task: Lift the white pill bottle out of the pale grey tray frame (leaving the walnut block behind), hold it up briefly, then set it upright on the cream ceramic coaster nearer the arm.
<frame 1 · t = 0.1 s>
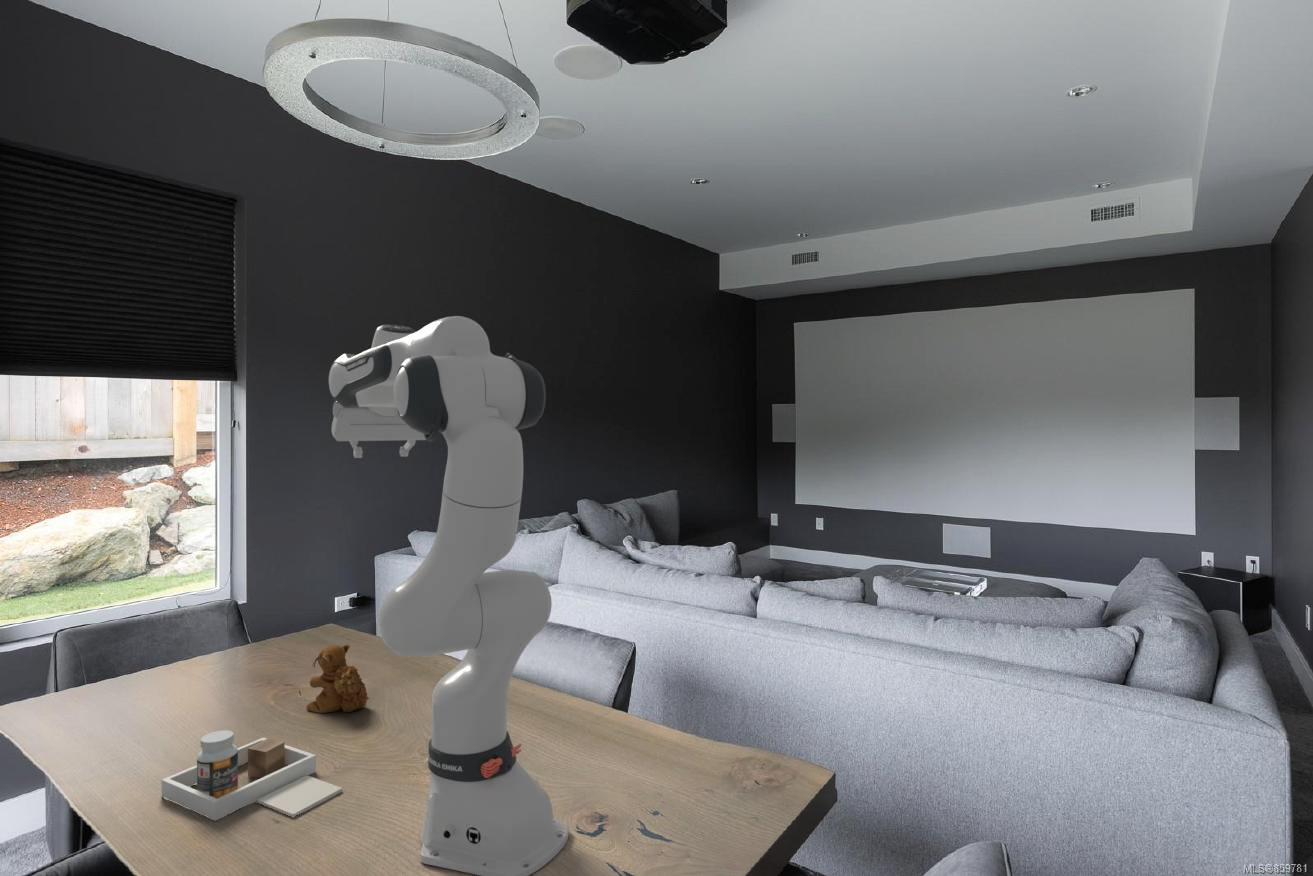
hand: (380, 455, 154), 54 cm above the table, tool tilted 30°, fingers open, 8 cm apart
walnut block: (266, 773, 126), resting in tray frame
stuffed squirrel: (341, 708, 154), on the table
pill bottle: (218, 796, 118), resting in tray frame
tray frame: (241, 784, 122), on the table
coaster: (300, 797, 118), on the table
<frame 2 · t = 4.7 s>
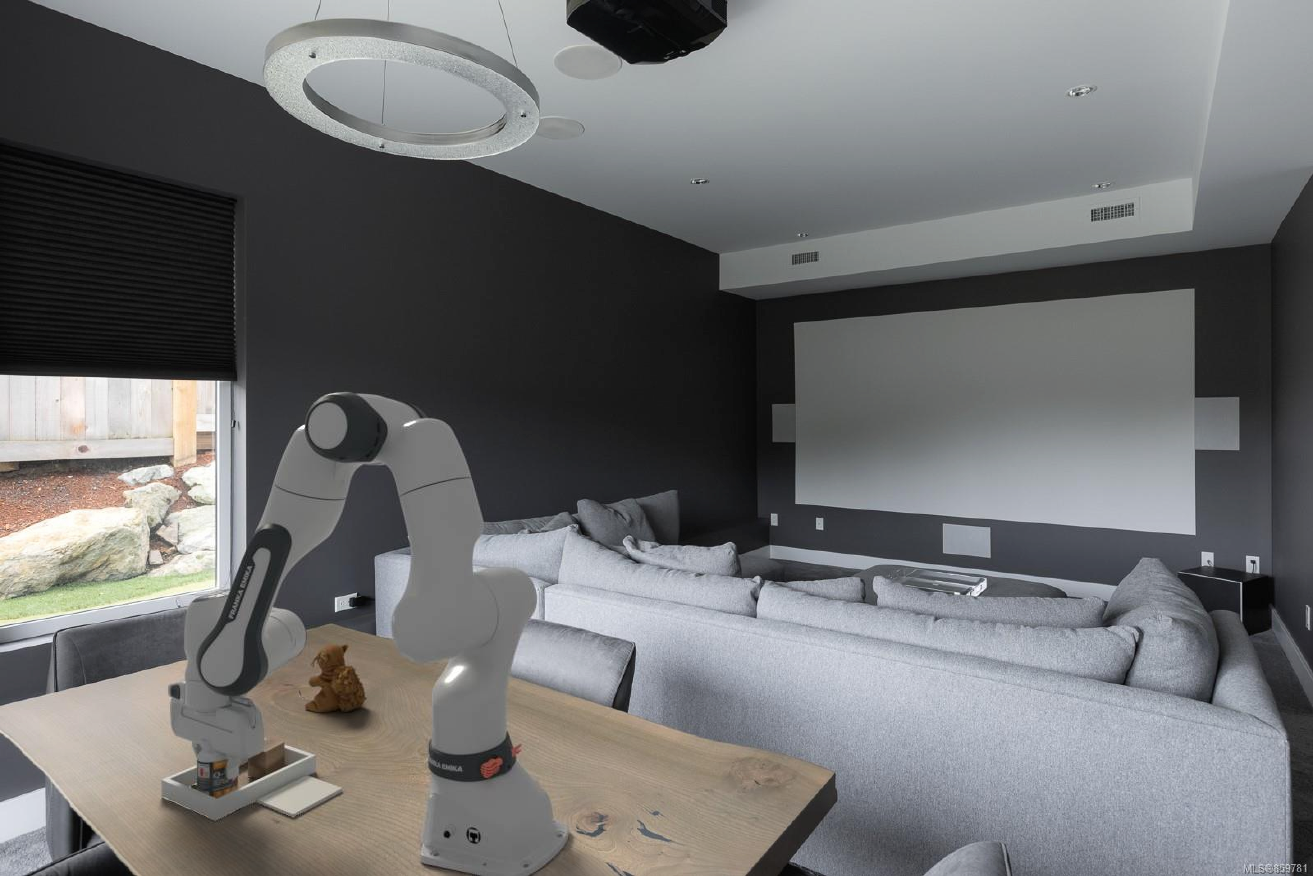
hand: (217, 771, 118), 4 cm above the table, tool pointing down, fingers closed on pill bottle, 6 cm apart
pill bottle: (218, 796, 118), resting in tray frame, touching gripper
everything else where it was.
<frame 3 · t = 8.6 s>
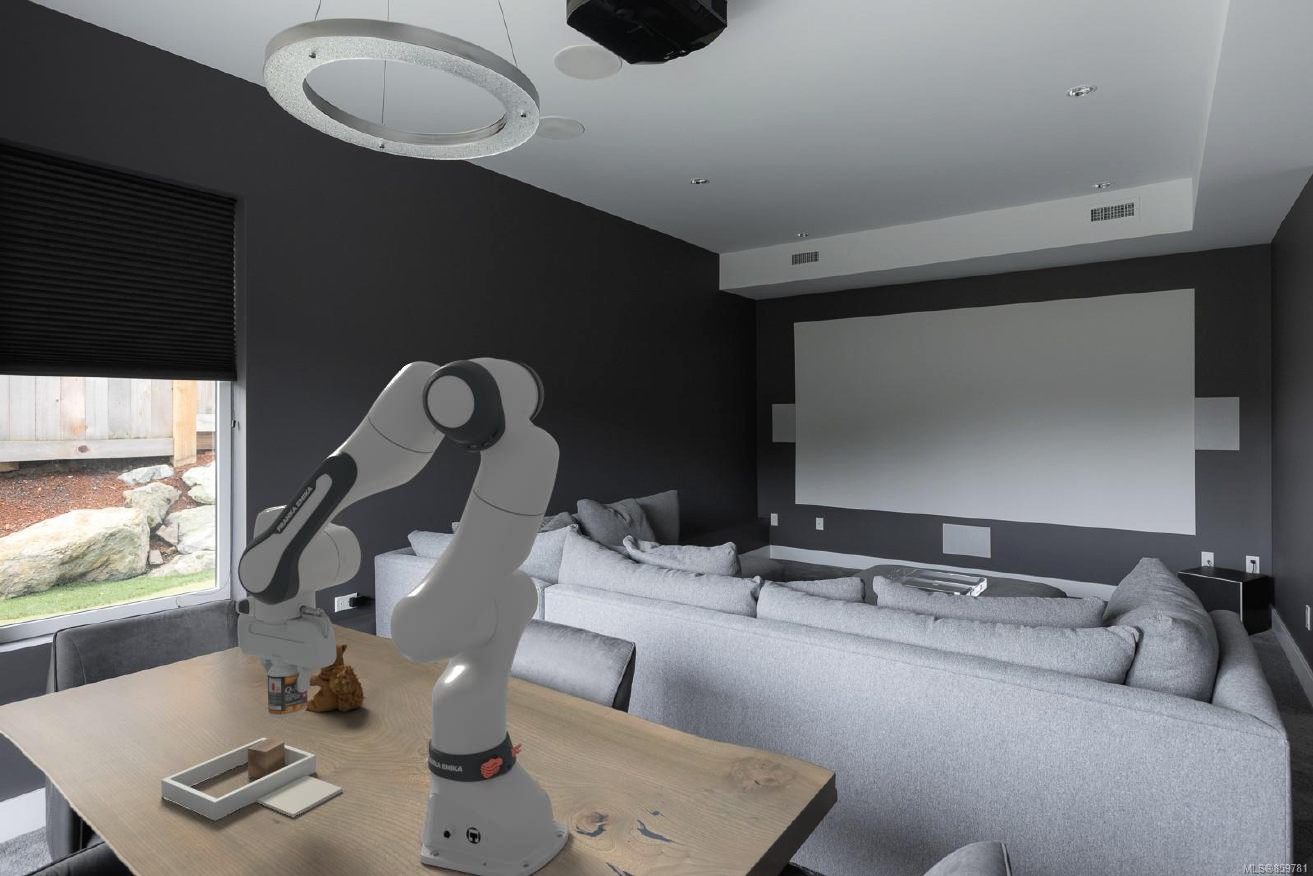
hand: (287, 687, 117), 18 cm above the table, tool pointing down, fingers closed on pill bottle, 6 cm apart
pill bottle: (288, 713, 117), point 14 cm above the table, touching gripper
everything else where it was.
when the fingers open (6 cm above the table, at t = 12.3 s): pill bottle stays where it is, resting on coaster.
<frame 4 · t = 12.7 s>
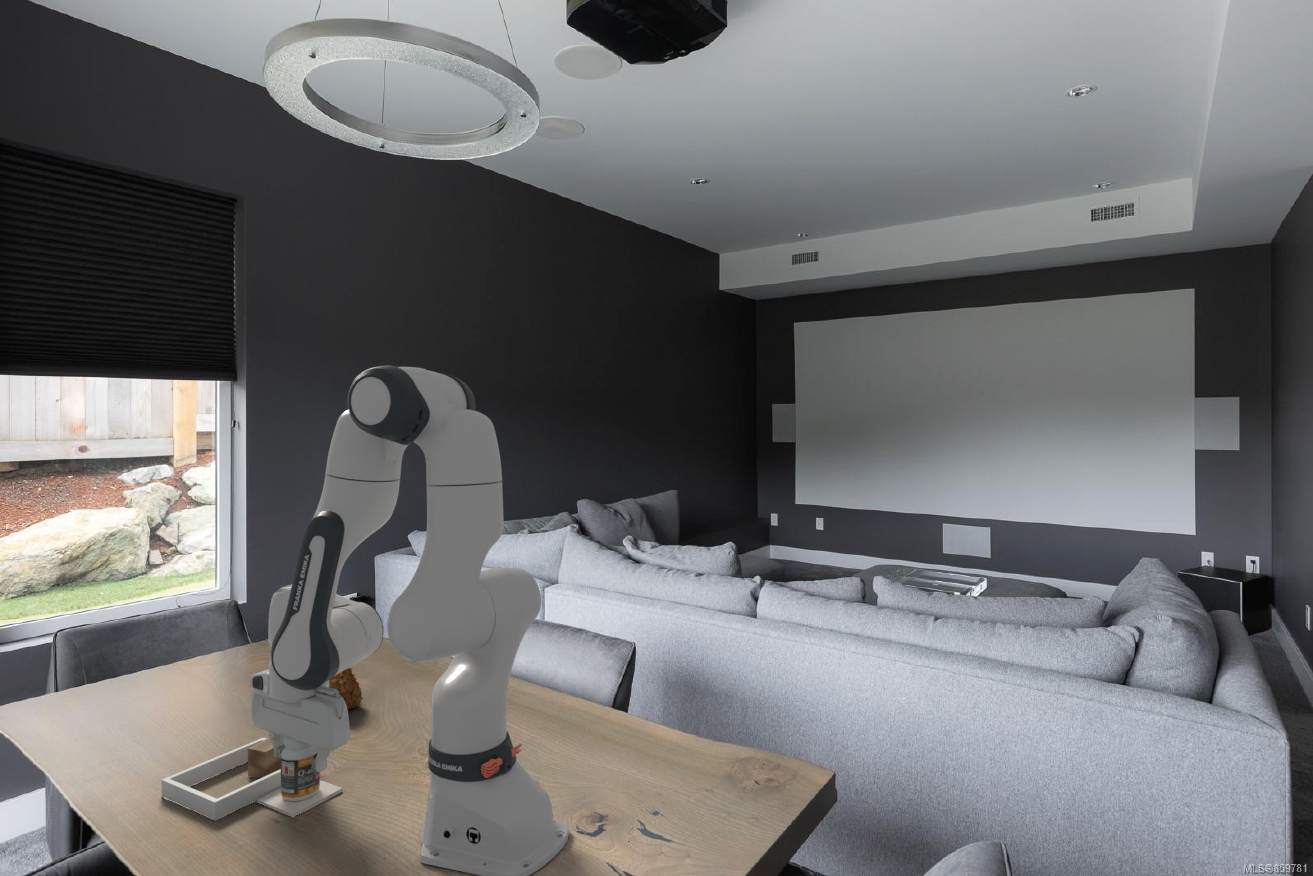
hand: (300, 763, 118), 6 cm above the table, tool pointing down, fingers open, 8 cm apart
pill bottle: (300, 795, 118), resting on coaster
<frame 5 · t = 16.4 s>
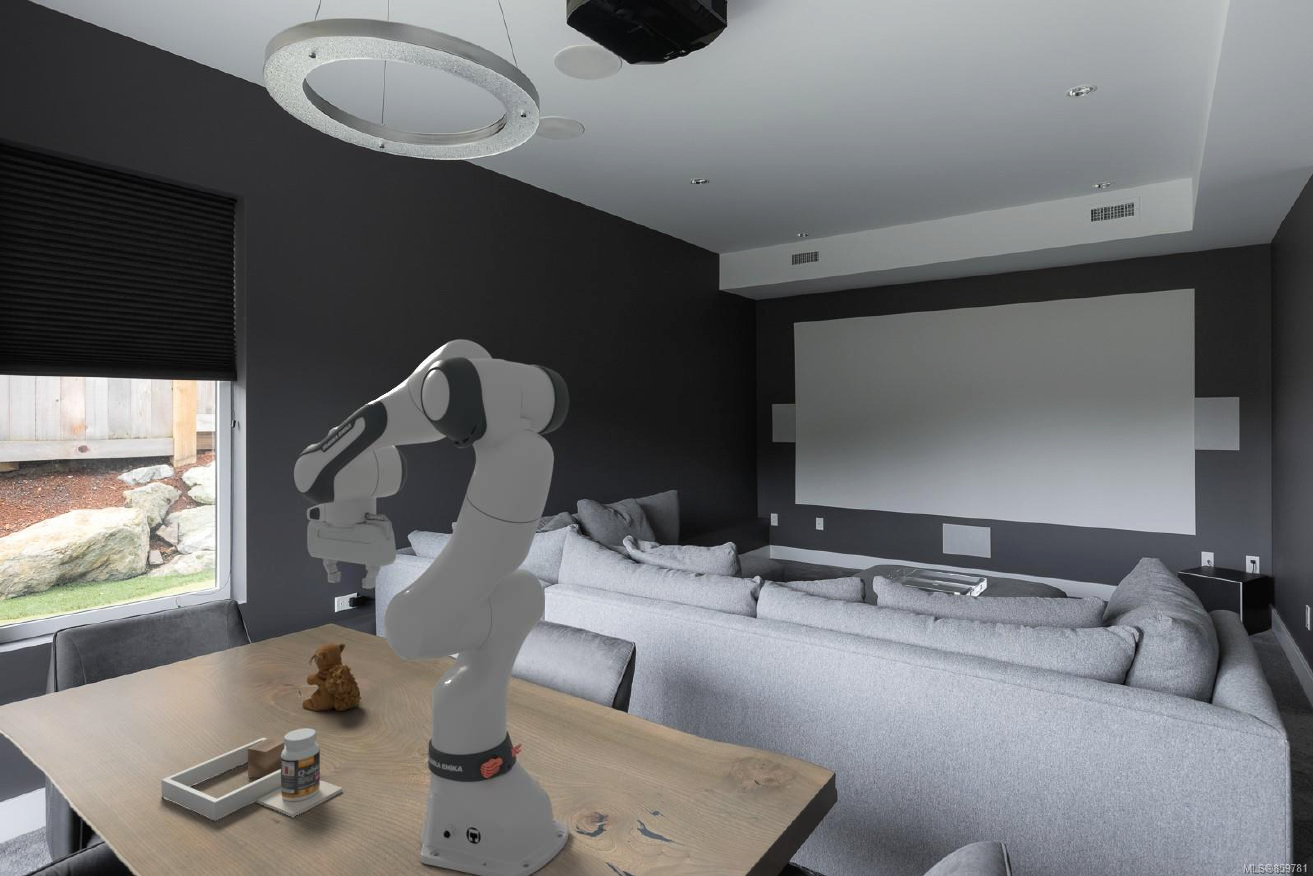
hand: (351, 584, 134), 31 cm above the table, tool pointing down, fingers open, 8 cm apart
at the end: pill bottle inside the target area on the coaster (0.0 cm from its centre), point 0.4 cm above the coaster's base; pill bottle tilted 0°; the gripper is holding nothing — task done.
